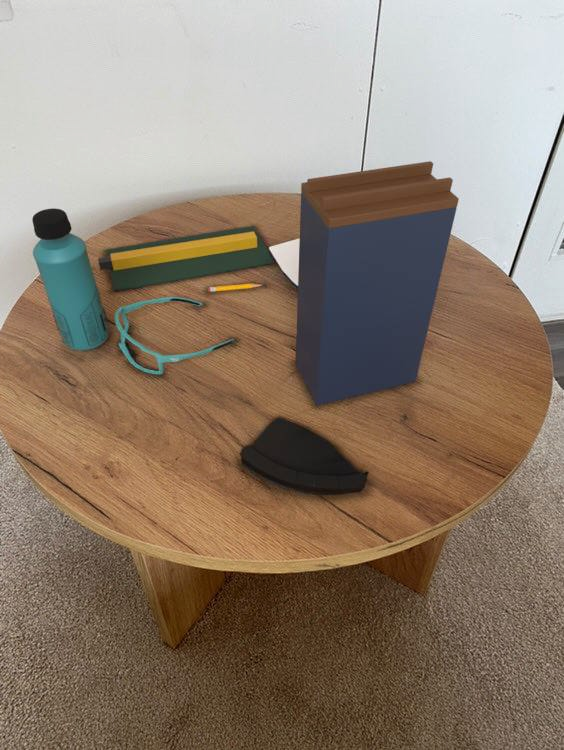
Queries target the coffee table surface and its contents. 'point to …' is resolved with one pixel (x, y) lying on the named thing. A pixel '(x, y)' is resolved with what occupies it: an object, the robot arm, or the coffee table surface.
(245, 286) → the pencil
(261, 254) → the rubber mat
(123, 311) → the sunglasses
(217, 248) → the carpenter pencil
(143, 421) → the coffee table surface
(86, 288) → the beverage bottle
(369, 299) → the blue tall block
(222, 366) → the coffee table surface
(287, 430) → the curved wedge
